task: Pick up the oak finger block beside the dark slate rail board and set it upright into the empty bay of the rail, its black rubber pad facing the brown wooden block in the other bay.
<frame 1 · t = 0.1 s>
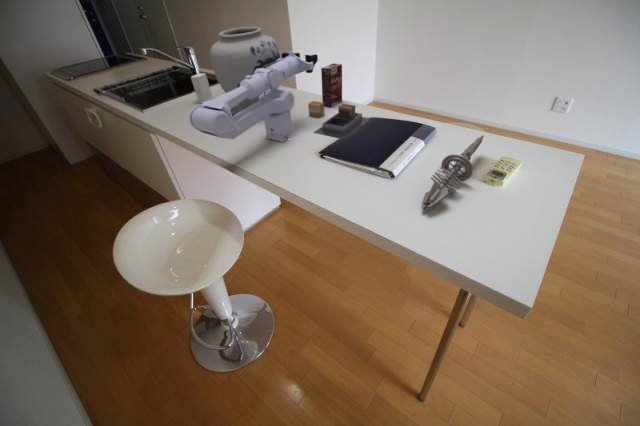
hand: (307, 56, 103), 22 cm above the worktop, fingers open, 7 cm apart
supplement box: (332, 106, 124), on the worktop
brown wooden block: (346, 122, 107), resting on rail board
skincare box: (206, 102, 139), on the worktop
white ceramic vase: (256, 110, 127), on the worktop
spaceship: (453, 181, 76), on the worktop
rail board: (342, 127, 106), on the worktop
oak finger block: (317, 118, 115), on the worktop
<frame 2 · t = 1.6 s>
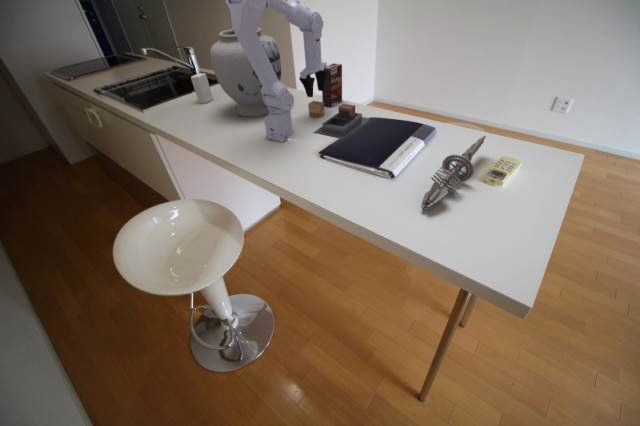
hand: (315, 93, 109), 9 cm above the worktop, fingers open, 7 cm apart
nothing on the worktop moved.
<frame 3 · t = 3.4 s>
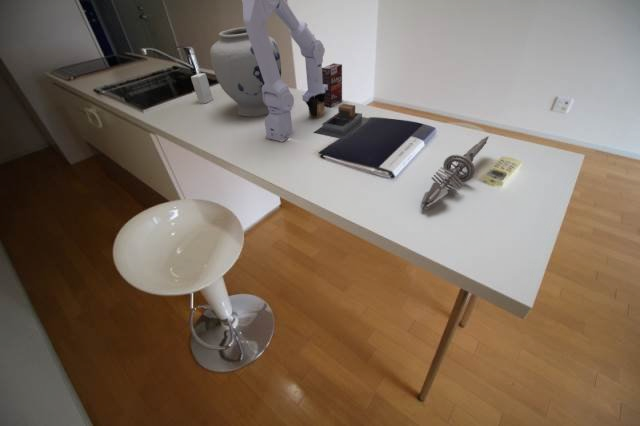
hand: (317, 113, 114), 2 cm above the worktop, fingers closed on oak finger block, 4 cm apart
oak finger block: (317, 118, 115), on the worktop, touching gripper
everything else where it was.
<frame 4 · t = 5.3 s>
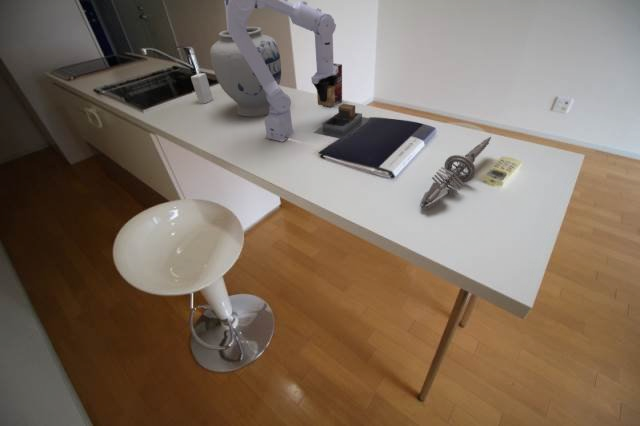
hand: (326, 99, 103), 9 cm above the worktop, fingers closed on oak finger block, 4 cm apart
oak finger block: (326, 104, 104), point 8 cm above the worktop, touching gripper
everything else where it was.
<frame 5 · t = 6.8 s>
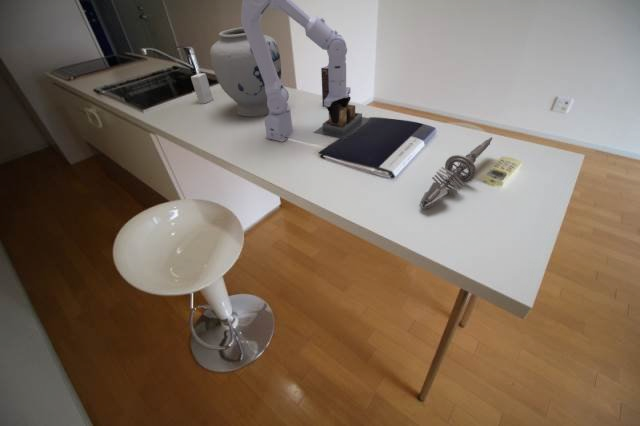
hand: (338, 120, 101), 4 cm above the worktop, fingers closed on oak finger block, 4 cm apart
oak finger block: (337, 125, 103), point 2 cm above the worktop, touching gripper
when the fingers open (4 cm above the worktop, at t = 7.6 s): oak finger block drops 1 cm, resting on rail board.
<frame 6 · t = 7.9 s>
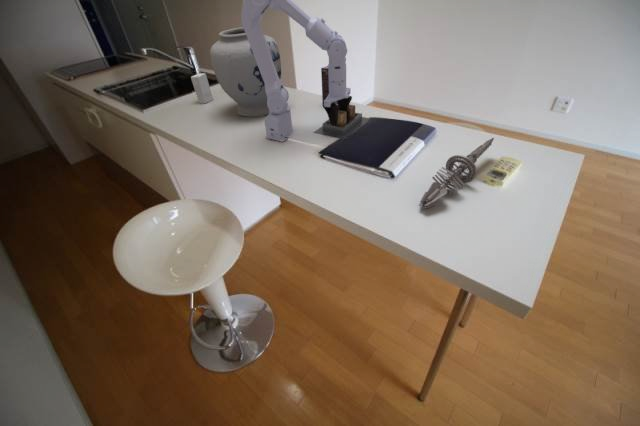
hand: (338, 120, 102), 4 cm above the worktop, fingers open, 6 cm apart
oak finger block: (337, 128, 103), point 1 cm above the worktop, touching rail board
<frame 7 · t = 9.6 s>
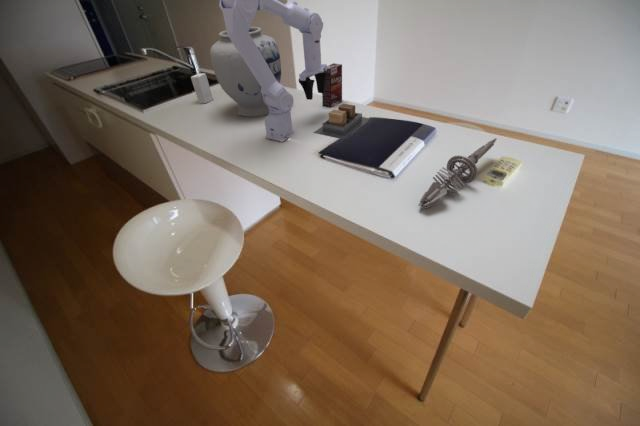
hand: (315, 95, 107), 9 cm above the worktop, fingers open, 7 cm apart
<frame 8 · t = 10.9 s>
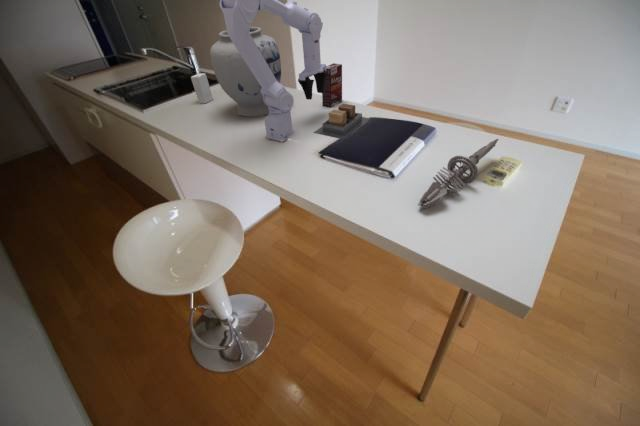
hand: (314, 95, 107), 9 cm above the worktop, fingers open, 7 cm apart
at the end: oak finger block 0.3 cm from the target spot on the rail board, point 1.0 cm above the rail board's base; oak finger block tilted 0°; the gripper is holding nothing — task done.
